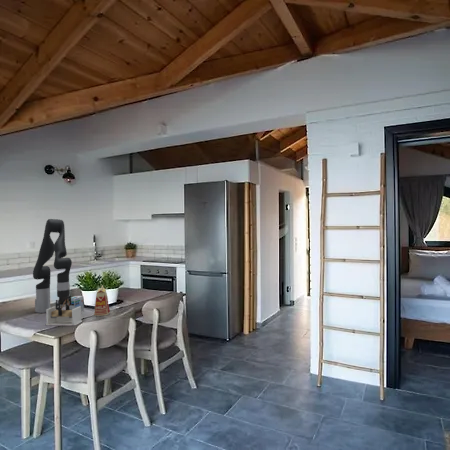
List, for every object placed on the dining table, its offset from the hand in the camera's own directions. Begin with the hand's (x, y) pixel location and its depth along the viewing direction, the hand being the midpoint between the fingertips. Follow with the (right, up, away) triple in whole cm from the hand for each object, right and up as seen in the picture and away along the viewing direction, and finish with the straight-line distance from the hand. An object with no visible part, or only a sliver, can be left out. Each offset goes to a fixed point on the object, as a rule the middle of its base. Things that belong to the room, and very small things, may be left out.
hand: (63, 313), depth 228 cm
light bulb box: (-5, -6, +30) cm, 31 cm away
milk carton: (+17, -6, +21) cm, 28 cm away
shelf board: (0, -1, 0) cm, 1 cm away
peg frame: (0, -6, 0) cm, 6 cm away
